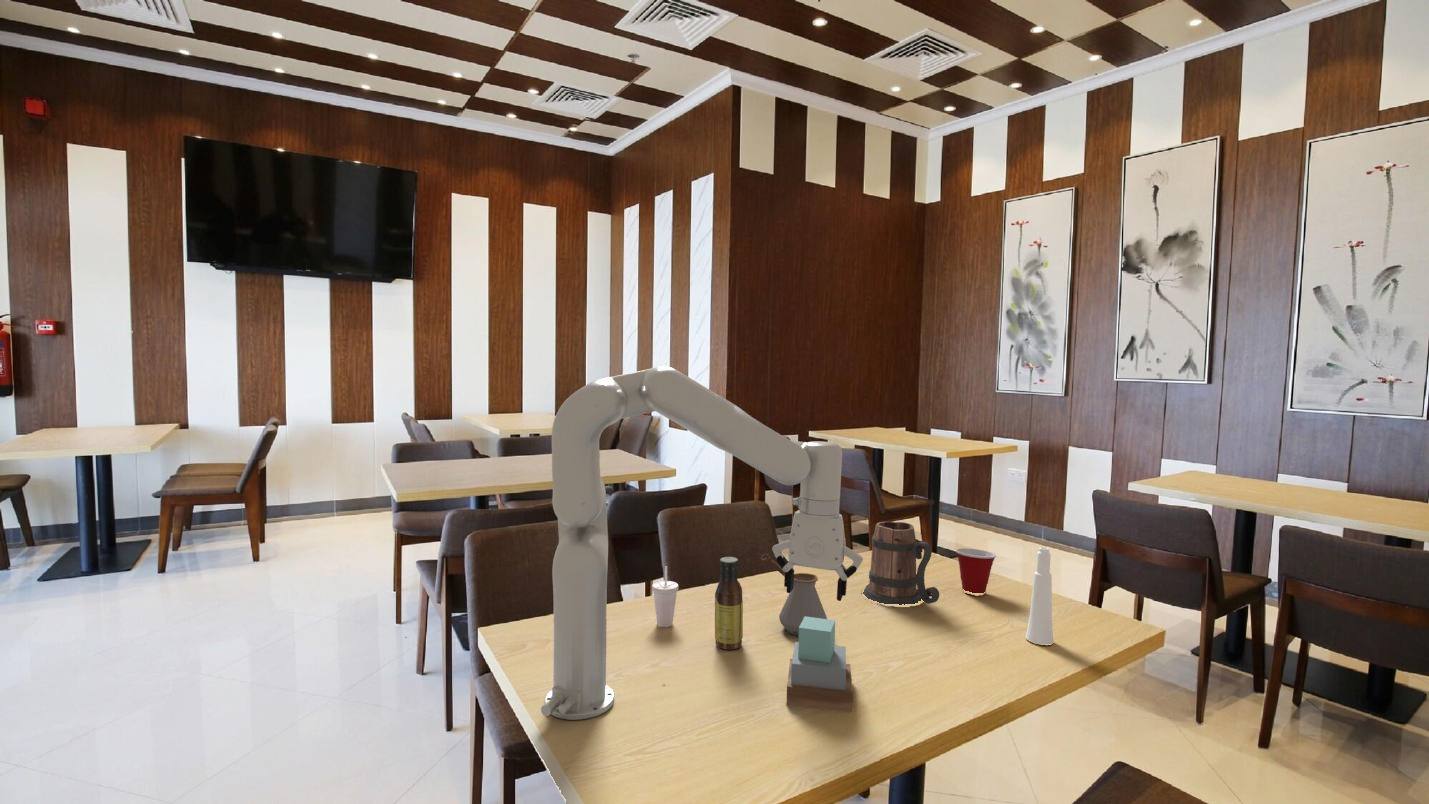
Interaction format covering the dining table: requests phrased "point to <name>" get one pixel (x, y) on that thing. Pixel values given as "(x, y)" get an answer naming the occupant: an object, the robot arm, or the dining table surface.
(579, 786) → the dining table surface
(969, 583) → the plastic cup
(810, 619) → the teal cube
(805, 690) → the bottom block
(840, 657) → the top block
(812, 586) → the coffee pot
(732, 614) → the sauce bottle
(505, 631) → the dining table surface
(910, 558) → the tankard
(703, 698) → the dining table surface
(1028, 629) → the cosmetic bottle
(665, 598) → the smoothie
